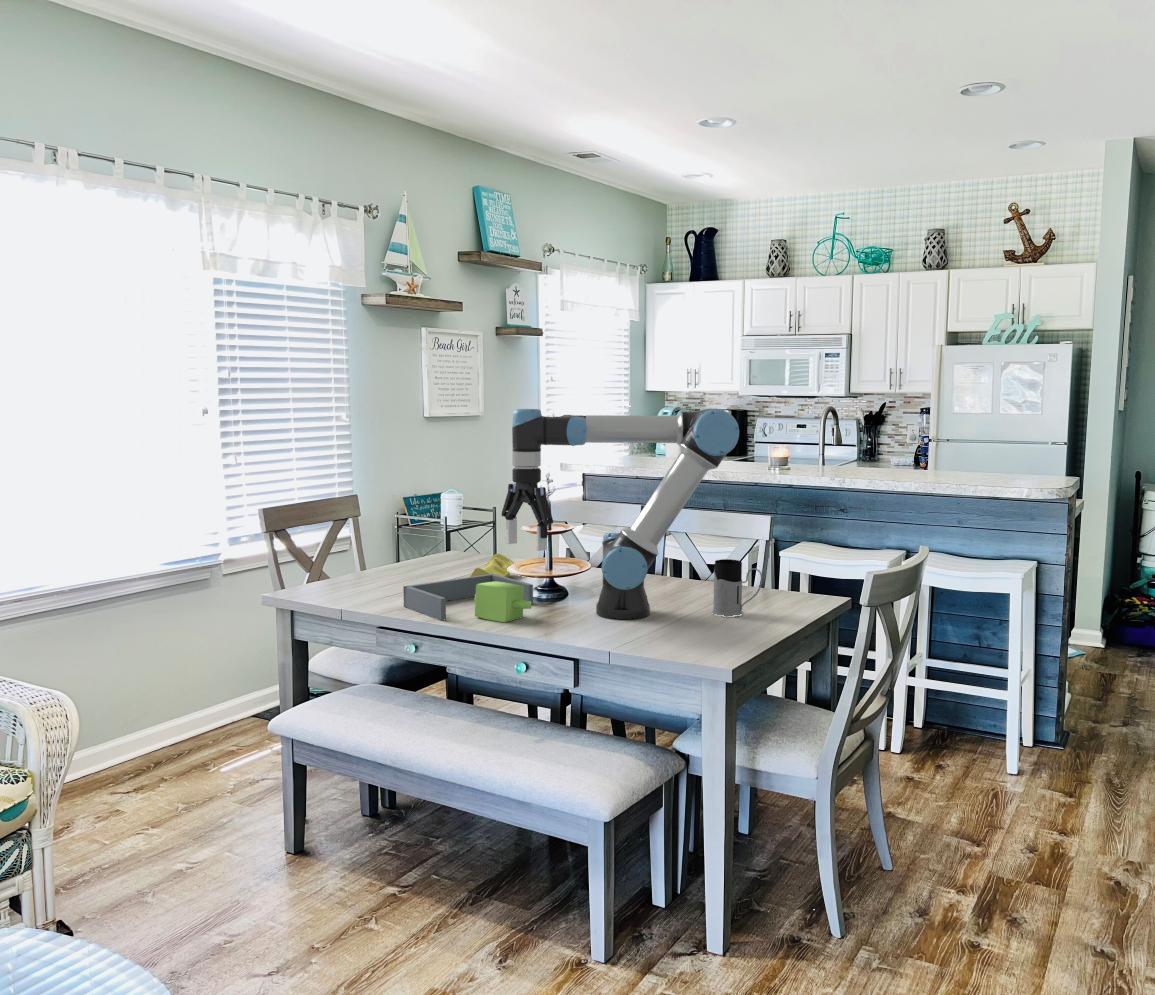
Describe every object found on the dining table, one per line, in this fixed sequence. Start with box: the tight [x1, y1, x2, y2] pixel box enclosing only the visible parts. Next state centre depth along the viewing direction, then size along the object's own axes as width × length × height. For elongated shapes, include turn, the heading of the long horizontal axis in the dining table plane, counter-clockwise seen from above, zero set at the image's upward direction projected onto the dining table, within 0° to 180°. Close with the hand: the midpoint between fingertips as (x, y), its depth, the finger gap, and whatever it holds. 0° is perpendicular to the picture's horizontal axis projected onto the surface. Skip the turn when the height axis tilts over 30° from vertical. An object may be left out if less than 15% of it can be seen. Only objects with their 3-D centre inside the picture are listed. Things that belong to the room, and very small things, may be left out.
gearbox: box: [474, 581, 532, 623], centre depth 260 cm, size 18×10×10 cm, turn 57°
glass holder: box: [711, 558, 763, 616], centre depth 263 cm, size 9×14×15 cm, turn 62°
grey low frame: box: [402, 574, 534, 621], centre depth 274 cm, size 21×31×6 cm
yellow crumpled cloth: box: [469, 552, 515, 578], centre depth 312 cm, size 20×7×10 cm
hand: (526, 547), depth 250 cm, fingers open, 13 cm apart
